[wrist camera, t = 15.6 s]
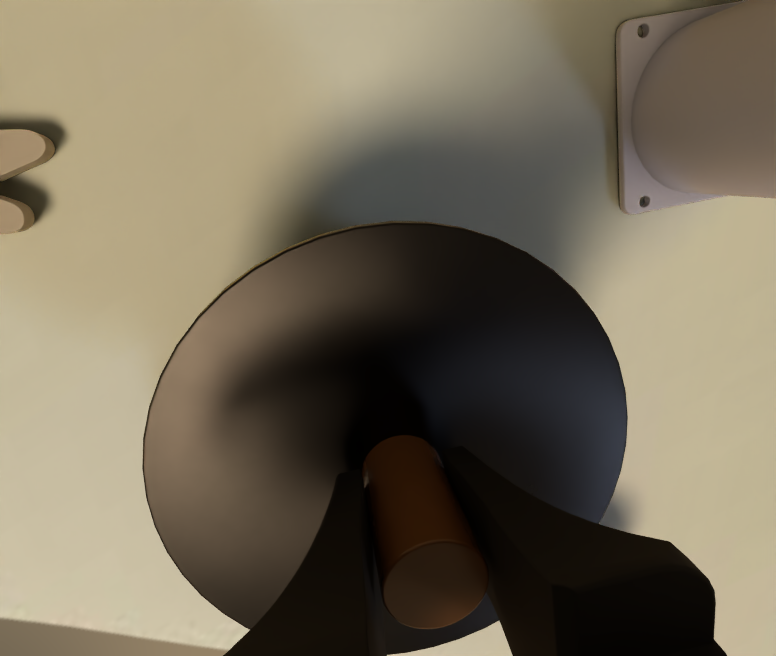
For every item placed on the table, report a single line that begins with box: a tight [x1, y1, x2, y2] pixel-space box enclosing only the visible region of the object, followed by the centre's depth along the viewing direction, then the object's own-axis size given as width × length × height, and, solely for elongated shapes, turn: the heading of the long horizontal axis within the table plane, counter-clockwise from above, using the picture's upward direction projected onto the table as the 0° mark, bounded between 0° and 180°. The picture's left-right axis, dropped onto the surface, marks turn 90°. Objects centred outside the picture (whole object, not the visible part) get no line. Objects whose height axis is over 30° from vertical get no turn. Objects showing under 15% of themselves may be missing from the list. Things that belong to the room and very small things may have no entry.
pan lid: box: [143, 221, 628, 655], centre depth 13 cm, size 15×15×6 cm
